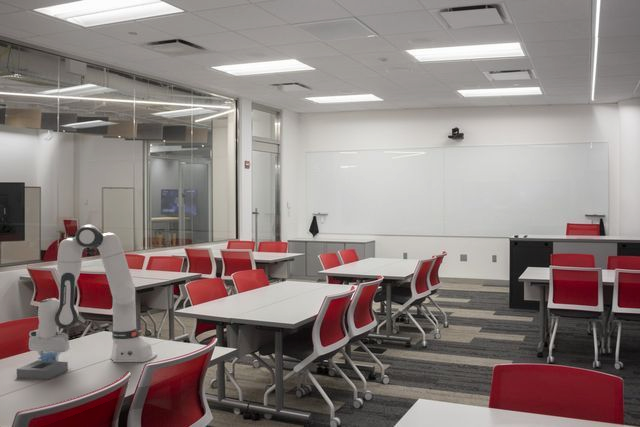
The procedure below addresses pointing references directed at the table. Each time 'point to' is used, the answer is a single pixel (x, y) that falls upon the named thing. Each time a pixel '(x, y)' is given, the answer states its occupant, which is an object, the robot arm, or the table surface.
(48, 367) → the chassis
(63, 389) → the table surface
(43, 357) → the servo
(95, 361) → the table surface
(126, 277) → the robot arm
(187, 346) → the table surface
